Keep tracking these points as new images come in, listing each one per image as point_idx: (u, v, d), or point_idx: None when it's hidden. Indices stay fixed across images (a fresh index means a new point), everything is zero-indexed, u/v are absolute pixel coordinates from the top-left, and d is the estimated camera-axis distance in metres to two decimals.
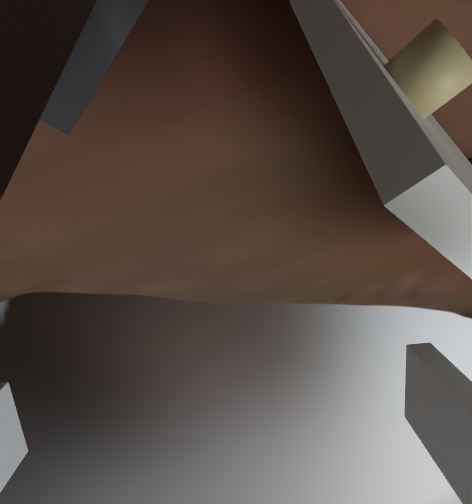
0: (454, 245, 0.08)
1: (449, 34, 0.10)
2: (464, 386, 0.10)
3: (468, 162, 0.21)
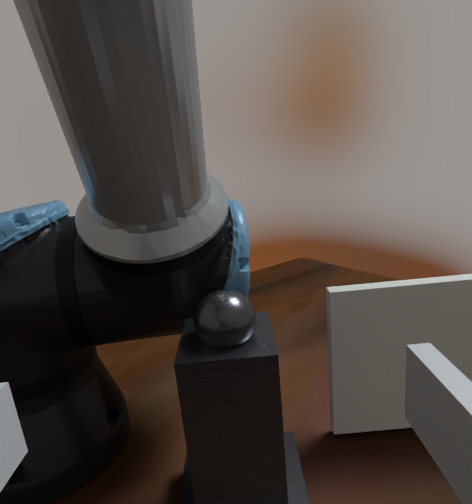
0: (357, 288, 0.31)
1: None
2: (464, 386, 0.10)
3: None
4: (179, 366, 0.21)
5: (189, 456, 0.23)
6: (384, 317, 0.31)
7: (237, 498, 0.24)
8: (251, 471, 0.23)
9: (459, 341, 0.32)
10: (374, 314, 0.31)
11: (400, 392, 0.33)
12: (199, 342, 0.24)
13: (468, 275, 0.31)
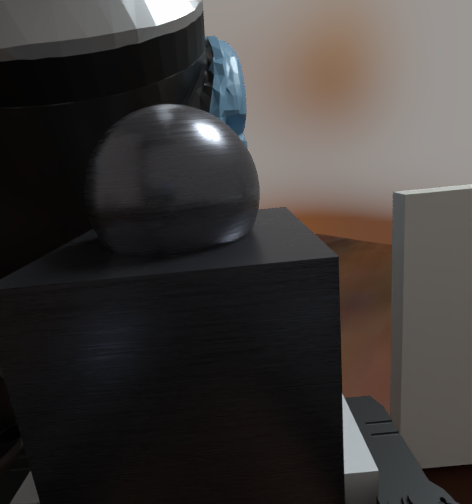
0: (458, 188, 0.16)
1: None
2: None
3: None
4: None
5: None
6: None
7: None
8: None
9: None
10: None
11: None
12: (102, 249, 0.08)
13: None
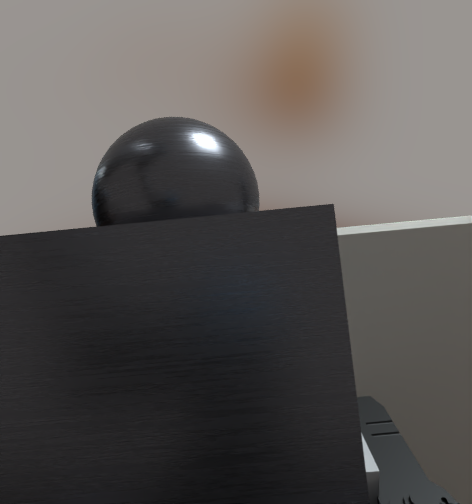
0: None
1: None
2: None
3: None
4: None
5: None
6: None
7: None
8: None
9: (365, 373, 0.14)
10: None
11: None
12: None
13: (381, 225, 0.14)
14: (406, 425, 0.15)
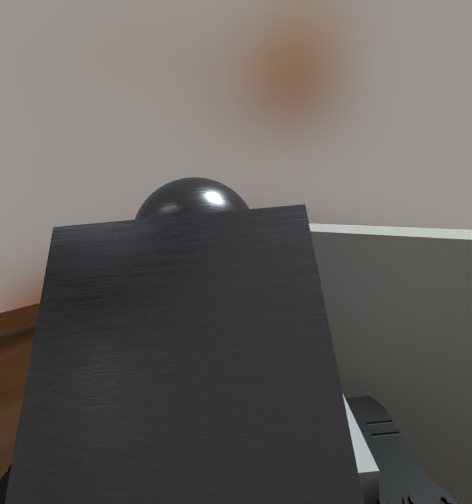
0: None
1: None
2: None
3: None
4: (65, 232, 0.09)
5: None
6: None
7: None
8: None
9: (403, 396, 0.13)
10: None
11: None
12: None
13: (448, 231, 0.11)
14: (454, 477, 0.12)
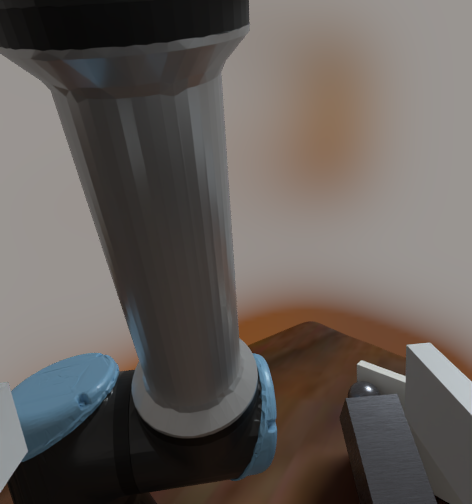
0: (375, 369, 0.48)
1: None
2: (464, 386, 0.10)
3: None
4: (348, 399, 0.43)
5: (362, 459, 0.39)
6: None
7: (400, 498, 0.36)
8: (403, 473, 0.38)
9: None
10: (383, 390, 0.47)
11: None
12: None
13: None
14: None
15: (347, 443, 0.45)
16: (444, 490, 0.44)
